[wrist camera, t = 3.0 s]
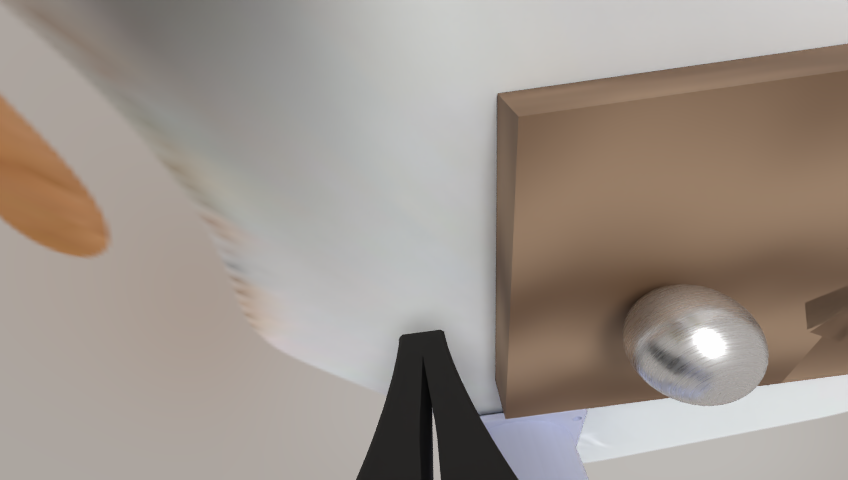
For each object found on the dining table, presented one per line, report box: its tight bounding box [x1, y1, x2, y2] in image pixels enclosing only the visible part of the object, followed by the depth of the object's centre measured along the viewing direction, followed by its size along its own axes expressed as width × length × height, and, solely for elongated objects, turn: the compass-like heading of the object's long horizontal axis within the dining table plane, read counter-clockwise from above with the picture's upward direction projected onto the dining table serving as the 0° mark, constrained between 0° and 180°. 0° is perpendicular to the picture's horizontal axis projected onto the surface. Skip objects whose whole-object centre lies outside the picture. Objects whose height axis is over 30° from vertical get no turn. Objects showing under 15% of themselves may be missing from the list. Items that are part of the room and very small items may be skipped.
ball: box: [623, 284, 769, 406], centre depth 11 cm, size 4×4×4 cm
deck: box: [495, 44, 848, 419], centre depth 13 cm, size 14×21×2 cm, turn 97°
